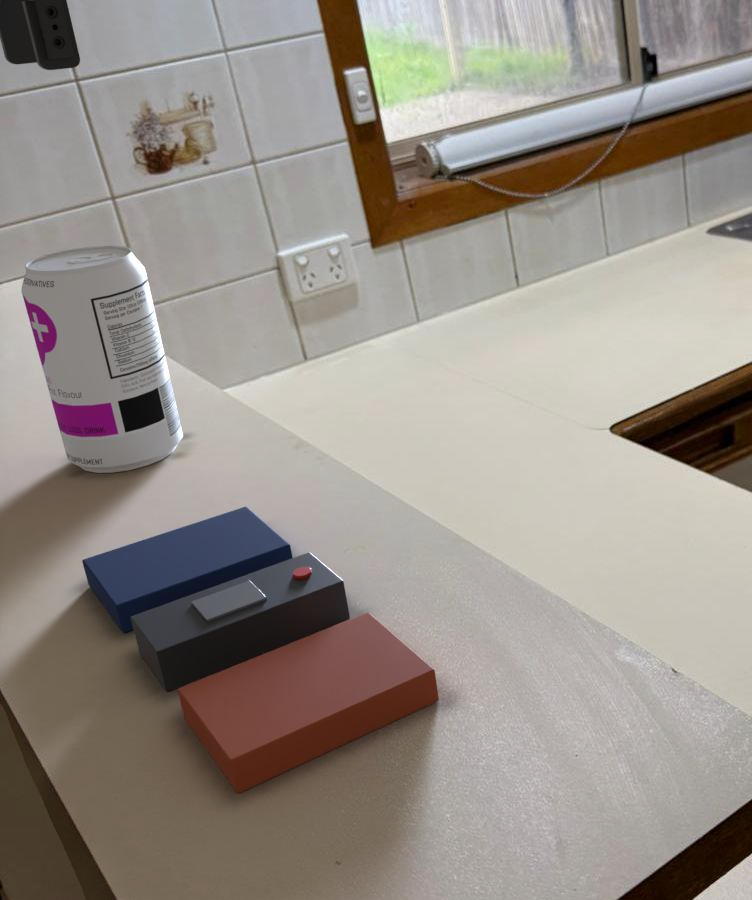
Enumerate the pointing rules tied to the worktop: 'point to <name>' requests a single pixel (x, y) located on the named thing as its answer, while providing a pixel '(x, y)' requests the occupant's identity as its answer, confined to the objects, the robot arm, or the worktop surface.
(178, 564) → the blue flat block
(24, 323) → the worktop surface
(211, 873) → the worktop surface
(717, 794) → the worktop surface
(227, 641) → the remote
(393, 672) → the red rectangular block
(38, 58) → the robot arm
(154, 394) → the supplement can
